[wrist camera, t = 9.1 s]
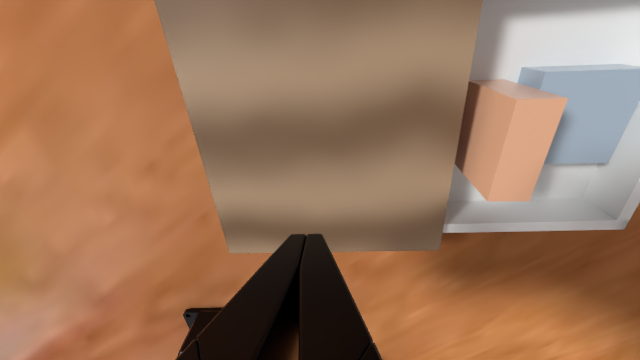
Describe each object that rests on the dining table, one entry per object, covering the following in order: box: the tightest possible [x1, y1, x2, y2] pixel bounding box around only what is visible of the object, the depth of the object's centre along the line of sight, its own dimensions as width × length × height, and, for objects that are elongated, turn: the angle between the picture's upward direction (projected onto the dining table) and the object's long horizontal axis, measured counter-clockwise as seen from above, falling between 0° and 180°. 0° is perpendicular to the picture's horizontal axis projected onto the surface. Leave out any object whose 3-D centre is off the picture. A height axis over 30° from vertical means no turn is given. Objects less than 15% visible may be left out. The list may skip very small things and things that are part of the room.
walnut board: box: [154, 0, 483, 253], centre depth 16 cm, size 16×14×4 cm
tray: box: [443, 0, 640, 233], centre depth 15 cm, size 14×11×3 cm
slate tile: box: [517, 64, 640, 164], centre depth 15 cm, size 5×5×2 cm
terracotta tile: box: [455, 79, 568, 201], centre depth 15 cm, size 5×5×2 cm
